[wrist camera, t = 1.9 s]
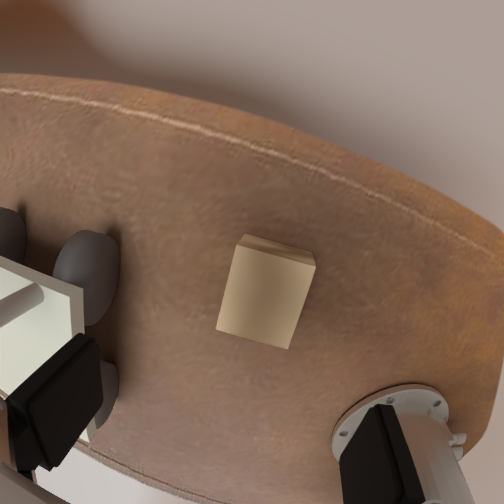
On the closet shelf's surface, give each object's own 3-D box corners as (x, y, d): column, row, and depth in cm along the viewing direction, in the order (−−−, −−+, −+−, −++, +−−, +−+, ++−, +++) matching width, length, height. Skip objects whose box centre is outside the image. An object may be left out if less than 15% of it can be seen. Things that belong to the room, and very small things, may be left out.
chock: (311, 251, 23) (316, 267, 19) (288, 323, 24) (287, 349, 20) (245, 233, 23) (236, 244, 19) (226, 306, 24) (215, 329, 20)
